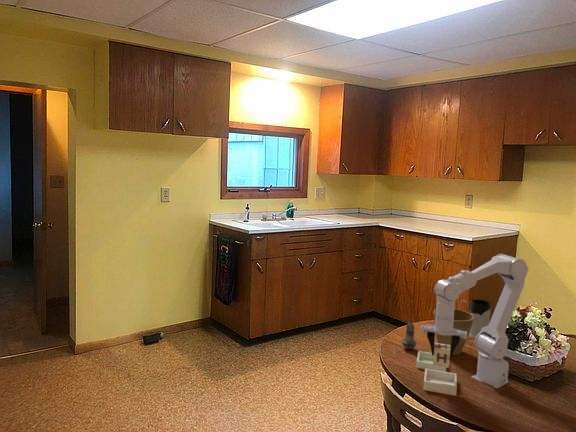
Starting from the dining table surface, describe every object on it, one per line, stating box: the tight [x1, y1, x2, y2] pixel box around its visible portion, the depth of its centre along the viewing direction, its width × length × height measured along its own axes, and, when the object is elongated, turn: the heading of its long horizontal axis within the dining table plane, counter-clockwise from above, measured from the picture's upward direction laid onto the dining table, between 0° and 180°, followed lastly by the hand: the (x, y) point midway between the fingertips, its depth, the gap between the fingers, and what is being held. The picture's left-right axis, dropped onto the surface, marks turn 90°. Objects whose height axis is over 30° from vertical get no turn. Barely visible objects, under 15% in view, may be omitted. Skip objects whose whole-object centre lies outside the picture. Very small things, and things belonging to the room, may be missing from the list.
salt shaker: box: [401, 320, 418, 351], centre depth 185 cm, size 6×6×12 cm
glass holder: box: [458, 299, 491, 338], centre depth 206 cm, size 9×14×15 cm, turn 42°
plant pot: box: [433, 308, 474, 356], centre depth 183 cm, size 15×15×16 cm
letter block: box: [433, 342, 451, 369], centre depth 155 cm, size 5×5×6 cm
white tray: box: [423, 369, 458, 397], centre depth 156 cm, size 10×10×3 cm
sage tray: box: [415, 350, 447, 372], centre depth 171 cm, size 10×10×3 cm
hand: (441, 355), depth 155 cm, fingers closed on letter block, 5 cm apart
